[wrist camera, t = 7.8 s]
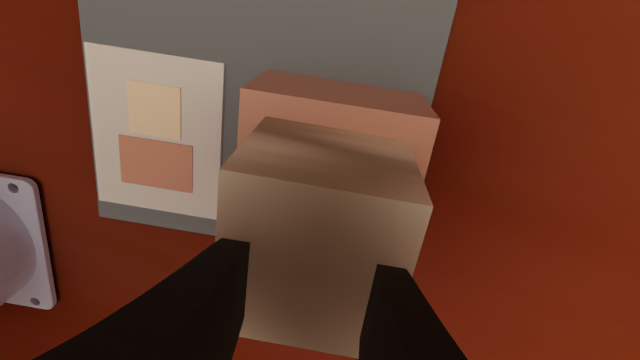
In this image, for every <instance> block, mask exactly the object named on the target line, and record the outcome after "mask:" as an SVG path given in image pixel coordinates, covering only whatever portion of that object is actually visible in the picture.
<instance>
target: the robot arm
mask: <svg viewBox="0 0 640 360" xmlns="http://www.w3.org/2000/svg"><path fill="white" fill-rule="evenodd" d="M14 184H15V185H16V186H17V187H18V189H17V188H16V187H15V185H14ZM249 251H250V242H245V241H239V240H233V239H227V238H221V239H219V240H218V241H216V242H215V243H213V244H212V245H211V246H209V247H208V248H206V249H205V250H204V251H202V252H201V253H200V254H198V255H197V256H196V257H194V258H193V259H192V260H190V261H189V262H188V263H186V264H185V265H183V266H182V267H181V268H179V269H178V270H177V271H175V272H174V273H172V274H171V275H170V276H168V277H167V278H165V279H164V280H162V281H161V282H160V283H158V284H157V285H155V286H154V287H152V288H151V289H150V290H148V291H147V292H145V293H144V294H142V295H141V296H139V297H138V298H136V299H135V300H133V301H132V302H130V303H129V304H127V305H125V306H124V307H122V308H121V309H119V310H117V311H116V312H114V313H113V314H111V315H110V316H108V317H106V318H105V319H103V320H102V321H100V322H99V323H97V324H95V325H94V326H92V327H90V328H89V329H87V330H85V331H84V332H82V333H80V334H78V335H77V336H75V337H73V338H71V339H70V340H68V341H66V342H64V343H62V344H61V345H59V346H57V347H55V348H53V349H51V350H49V351H48V352H46V353H44V354H42V355H40V356H38V357H36V358H34V359H33V360H232V357H233V353H234V350H235V347H236V344H237V341H238V337H239V334H240V330H241V327H242V324H243V320H244V315H245V303H246V290H247V277H248V264H249ZM5 302H6V303H11V304H17V305H23V306H28V307H34V308H40V309H48V310H49V309H51V308H52V307H53V306H54V305H55V304H56V303H57V298H56V292H55V286H54V280H53V274H52V268H51V262H50V256H49V250H48V244H47V238H46V232H45V226H44V220H43V213H42V207H41V201H40V195H39V189H38V186H37V184H36V183H35V182H34V181H33V180H32V179H29V178H26V177H20V176H14V175H8V174H2V173H0V306H1V305H2V304H4V303H5ZM358 360H468V359H467V358H466V357H465V355H464V354H463V352H462V351H461V350H460V348H459V347H458V345H457V344H456V342H455V341H454V340H453V338H452V337H451V335H450V334H449V333H448V331H447V330H446V328H445V327H444V325H443V324H442V322H441V321H440V319H439V318H438V316H437V315H436V313H435V312H434V310H433V309H432V307H431V306H430V304H429V303H428V301H427V300H426V298H425V297H424V295H423V293H422V292H421V290H420V289H419V287H418V286H417V284H416V282H415V281H414V279H413V278H412V276H411V275H410V273H409V272H408V270H407V269H405V268H399V267H393V266H387V265H381V264H377V266H376V271H375V275H374V279H373V283H372V288H371V292H370V296H369V300H368V305H367V309H366V313H365V317H364V321H363V326H362V330H361V334H360V341H359V359H358Z"/></svg>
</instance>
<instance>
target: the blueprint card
mask: <svg viewBox="0 0 640 360" xmlns="http://www.w3.org/2000/svg"><path fill="white" fill-rule="evenodd" d="M84 51H85V62H86V72H87V82H88V92H89V102H90V113H91V123H92V133H93V143H94V153H95V164H96V174H97V184H98V194H99V200H100V201H106V202H112V203H118V204H124V205H130V206H136V207H142V208H148V209H154V210H160V211H166V212H172V213H178V214H184V215H190V216H196V217H202V218H208V219H214V220H216V218H217V198H218V179H219V169H220V167H221V164H222V139H223V114H224V89H225V64H226V63H223V62H216V61H210V60H204V59H197V58H191V57H184V56H178V55H171V54H165V53H159V52H152V51H146V50H139V49H133V48H126V47H120V46H114V45H107V44H101V43H94V42H88V41H85V42H84Z"/></svg>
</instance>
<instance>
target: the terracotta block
mask: <svg viewBox="0 0 640 360" xmlns="http://www.w3.org/2000/svg"><path fill="white" fill-rule="evenodd" d="M265 116H267V117H273V118H279V119H285V120H291V121H297V122H302V123H308V124H314V125H320V126H326V127H332V128H337V129H343V130H349V131H355V132H361V133H367V134H372V135H378V136H384V137H390V138H396V139H402V140H408V141H409V143H410V146H411V149H412V151H413V154H414V157H415V159H416V162H417V165H418V167H419V170H420V173H421V175H422V178H423V180H424V179H425V176H426V172H427V168H428V164H429V161H430V157H431V153H432V149H433V146H434V142H435V138H436V134H437V131H438V127H439V123H440V118H439V117H438V116H437V114H436V113H435V112H434V110H433V109H432V107H431V106H430V105H429V103H428V102H427V101H426V99H425V98H424V97H423V95H422V94H421V93H415V92H409V91H403V90H396V89H390V88H383V87H377V86H370V85H364V84H358V83H351V82H345V81H338V80H332V79H325V78H319V77H313V76H306V75H300V74H293V73H287V72H281V71H274V70H267V71H265V72H264V73H262V74H261V75H259V76H258V77H256V78H255V79H253V80H252V81H250V82H249V83H247V84H246V85H244V86H242V87H241V88H240V100H239V118H238V136H237V148H238V147H239V146H240V145H241V144H242V142H243V141H244V140H245V139H246V138H247V137H248V136H249V134H250V133H251V132H252V131H253V130H254V129H255V128H256V126H257V125H258V124H259V123H260V122H261V121H262V120H263V119H264V117H265Z"/></svg>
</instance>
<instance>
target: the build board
mask: <svg viewBox="0 0 640 360" xmlns="http://www.w3.org/2000/svg"><path fill="white" fill-rule="evenodd" d="M457 2H458V0H78V7H79V17H80V27H81V37H82V47H83V57H84V67H85V77H86V87H87V97H88V107H89V117H90V127H91V138H92V148H93V158H94V168H95V178H96V188H97V198H98V208H99V216H100V217H106V218H112V219H118V220H124V221H130V222H136V223H142V224H148V225H154V226H160V227H166V228H172V229H178V230H183V231H189V232H195V233H201V234H207V235H213V236H216V220H214V219H208V218H202V217H196V216H190V215H184V214H178V213H172V212H166V211H160V210H154V209H148V208H142V207H136V206H130V205H124V204H118V203H112V202H106V201H100V200H99V194H98V184H97V174H96V164H95V153H94V143H93V133H92V123H91V113H90V102H89V92H88V82H87V72H86V62H85V51H84V42H85V41H88V42H94V43H101V44H107V45H114V46H120V47H126V48H133V49H139V50H146V51H152V52H159V53H165V54H171V55H178V56H184V57H191V58H197V59H204V60H210V61H216V62H223V63H226V64H225V89H224V114H223V139H222V164H221V166H222V165H223V164H224V163H225V162H226V161H227V159H228V158H229V157H230V156H231V155H232V154H233V153H234V151H235V150H236V149H237V136H238V118H239V100H240V88H241V87H242V86H244V85H246V84H247V83H249V82H250V81H252V80H253V79H255V78H256V77H258V76H259V75H261V74H262V73H264V72H265V71H267V70H274V71H281V72H287V73H293V74H300V75H306V76H313V77H319V78H325V79H332V80H338V81H345V82H351V83H358V84H364V85H370V86H377V87H383V88H390V89H396V90H403V91H409V92H415V93H421V94H422V95H423V97H424V98H425V99H426V101H427V102H428V103H429V105H430V106H431V105H432V101H433V97H434V93H435V89H436V85H437V81H438V77H439V73H440V69H441V65H442V61H443V58H444V54H445V50H446V46H447V42H448V38H449V34H450V30H451V26H452V22H453V18H454V14H455V10H456V6H457Z"/></svg>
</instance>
